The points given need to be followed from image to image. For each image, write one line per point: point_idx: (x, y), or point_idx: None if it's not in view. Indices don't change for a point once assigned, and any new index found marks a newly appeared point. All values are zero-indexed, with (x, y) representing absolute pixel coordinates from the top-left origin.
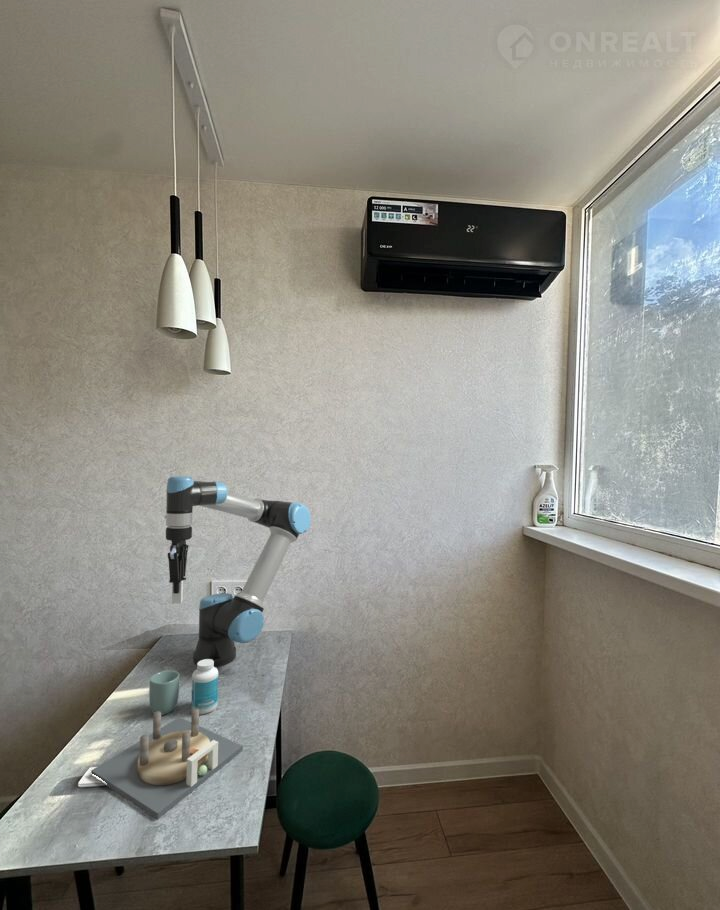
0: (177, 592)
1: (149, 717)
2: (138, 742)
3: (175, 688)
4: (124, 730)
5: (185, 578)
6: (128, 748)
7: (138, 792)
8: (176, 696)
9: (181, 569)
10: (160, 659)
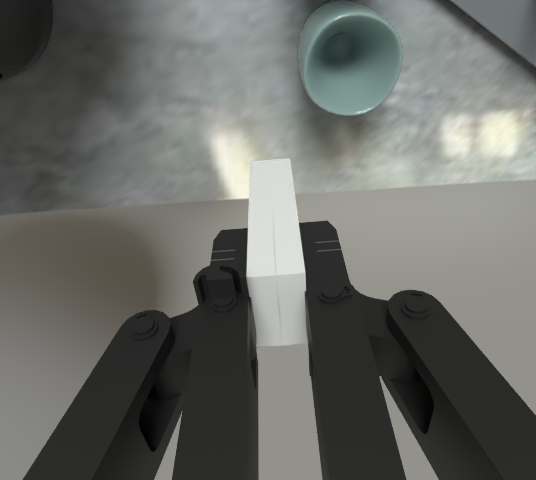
0: (332, 230)
1: None
2: (504, 38)
3: (368, 8)
4: (413, 108)
5: (222, 276)
6: (523, 53)
7: None
8: (354, 2)
9: (247, 421)
10: (46, 182)
